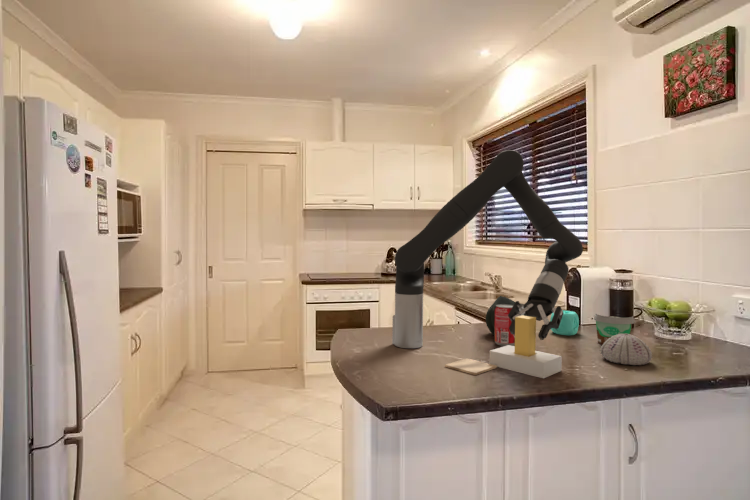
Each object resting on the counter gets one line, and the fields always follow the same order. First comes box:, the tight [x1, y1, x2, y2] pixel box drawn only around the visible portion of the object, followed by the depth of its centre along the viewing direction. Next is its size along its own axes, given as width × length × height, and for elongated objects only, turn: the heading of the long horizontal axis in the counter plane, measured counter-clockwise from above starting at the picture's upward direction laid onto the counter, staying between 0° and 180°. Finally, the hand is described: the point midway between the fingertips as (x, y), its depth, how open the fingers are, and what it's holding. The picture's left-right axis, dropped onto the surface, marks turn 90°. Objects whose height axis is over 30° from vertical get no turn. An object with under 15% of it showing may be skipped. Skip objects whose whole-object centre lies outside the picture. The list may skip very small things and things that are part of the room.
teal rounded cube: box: [549, 309, 580, 336], centre depth 169 cm, size 8×8×8 cm
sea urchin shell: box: [599, 333, 653, 366], centre depth 132 cm, size 13×14×8 cm
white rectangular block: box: [488, 345, 563, 379], centre depth 124 cm, size 16×10×4 cm, turn 43°
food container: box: [593, 313, 635, 346], centre depth 150 cm, size 12×6×10 cm, turn 68°
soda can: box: [494, 304, 515, 347], centre depth 150 cm, size 7×7×13 cm
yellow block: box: [514, 315, 537, 357], centre depth 124 cm, size 4×4×14 cm
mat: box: [444, 357, 498, 376], centre depth 124 cm, size 10×10×1 cm
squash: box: [485, 295, 526, 336], centre depth 164 cm, size 14×15×15 cm
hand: (525, 335), depth 124 cm, fingers open, 8 cm apart
